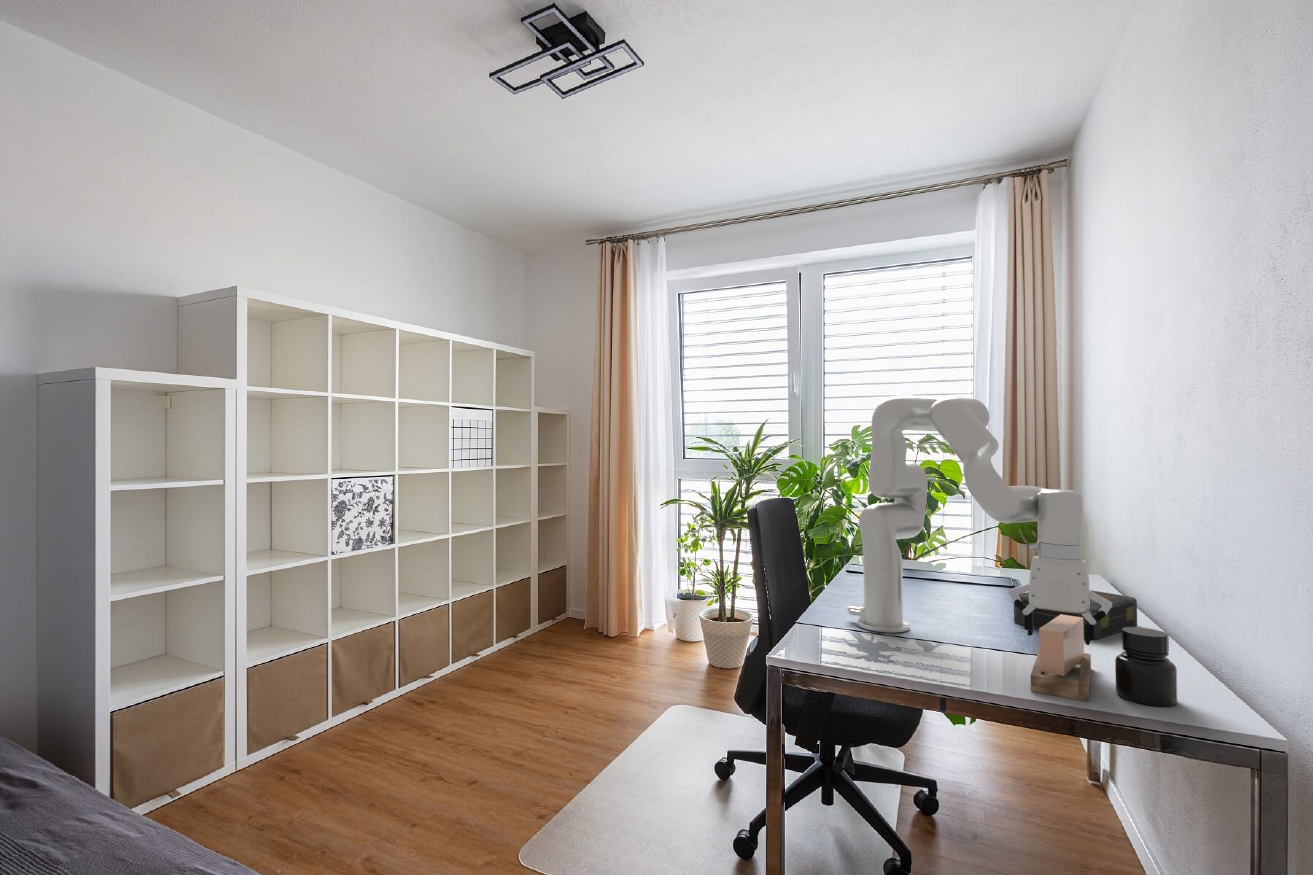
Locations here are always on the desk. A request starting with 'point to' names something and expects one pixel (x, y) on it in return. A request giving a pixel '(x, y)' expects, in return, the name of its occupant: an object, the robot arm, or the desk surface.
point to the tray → (1064, 680)
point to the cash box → (1112, 623)
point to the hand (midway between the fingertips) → (1058, 638)
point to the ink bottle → (1146, 668)
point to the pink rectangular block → (1061, 644)
